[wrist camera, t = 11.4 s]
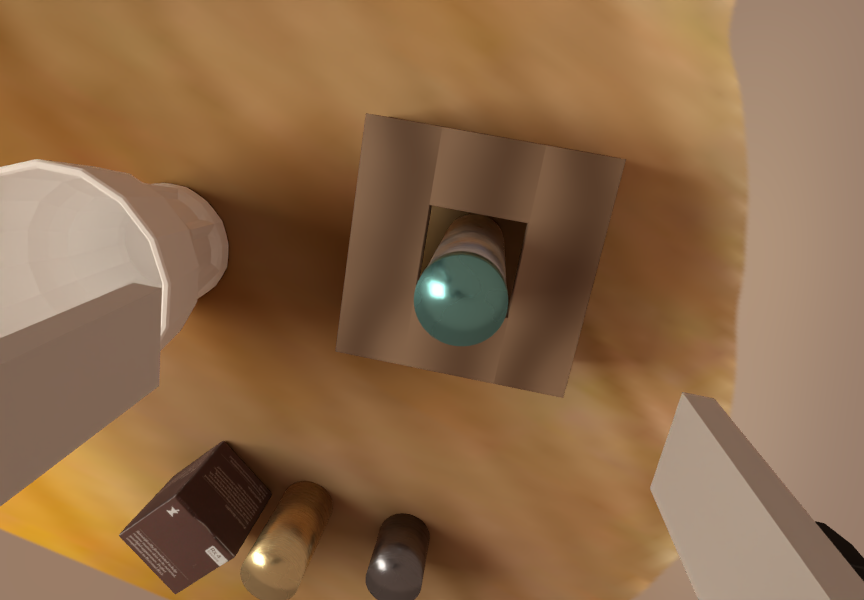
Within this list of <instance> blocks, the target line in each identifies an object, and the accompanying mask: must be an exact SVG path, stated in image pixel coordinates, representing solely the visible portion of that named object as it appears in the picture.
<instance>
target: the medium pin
mask: <svg viewBox="0 0 864 600" xmlns="http://www.w3.org/2000/svg"><path fill="white" fill-rule="evenodd" d="M332 509H333V504H332V499H331V497H330V495H329V494H328V492H327V491H326V490H325V489H324V488H323V487H321V486H320V485H318V484H316V483H313V482H309V481H301V482H297V483H294V484H292V485H291V486H290V487H289V488H288V489H287V490H286V492H285V494H284V495H283V497H282V499H281V500H280V502H279V504H278V505H277V507H276V509H275V510H274V512H273V514H272V515H271V517H270V519H269V520H268V522H267V524H266V525H265V527H264V529H263V530H262V532H261V534H260V535H259V537H258V539H257V540H256V542H255V544H254V546H253V547H252V549H251V551H250V552H249V554H248V556H247V557H246V559H245V561H244V562H243V564H242V566H241V571H240V575H241V580H242V582H243V584H244V586H245V587H246V589H247V590H248V591H249V592H250V593H251V594H252V595H254V596H255V597H257V598H259V599H261V600H288V599H290V598H291V597H292V596H293V595H294V594H295V593H296V591H297V589H298V587H299V585H300V582H301V580H302V578H303V576H304V573H305V571H306V569H307V567H308V564H309V562H310V560H311V558H312V555H313V553H314V551H315V549H316V546H317V544H318V542H319V540H320V537H321V535H322V533H323V531H324V528H325V526H326V524H327V522H328V519H329V517H330V515H331V512H332Z"/></svg>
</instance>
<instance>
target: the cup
mask: <svg viewBox="0 0 864 600" xmlns="http://www.w3.org/2000/svg"><path fill="white" fill-rule="evenodd" d="M228 247H229V244H228V240H227V235H226V232H225V228H224V225H223V222H222V220H221V219H220V217H219V216H218V214H217V213H216V212H215V210H214V209H213V208H212V207H211V205H210V204H209V203H208V202H207V201H206V200H205V199H203V198H202V197H201V196H199V195H198V194H197V193H195V192H194V191H192V190H190V189H189V188H187V187H184V186H180V185H175V184H169V183H159V184H147V183H142V182H141V181H139V180H138V179H137V178H135V177H134V176H132V175H131V174H128V173H123V172H118V171H113V170H108V169H103V168H98V167H93V166H86V165H78V164H71V163H63V162H55V161H48V160H40V159H35V160H31V161H26V162H21V163H17V164H12V165H8V166H3V167H0V338H2V337H4V336H7V335H9V334H11V333H14V332H16V331H18V330H21V329H23V328H26V327H28V326H30V325H33V324H35V323H38V322H40V321H42V320H45V319H47V318H50V317H52V316H54V315H57V314H59V313H61V312H64V311H66V310H69V309H71V308H73V307H76V306H78V305H81V304H83V303H85V302H88V301H90V300H92V299H95V298H97V297H100V296H102V295H104V294H107V293H109V292H112V291H114V290H116V289H119V288H121V287H123V286H126V285H128V284H131V283H138V284H143V285H148V286H153V287H158V288H162V303H161V338H160V351H161V350H162V349H163V348H164V347H165V346H166V345H167V344H168V343H169V342H170V341H171V340H172V339H173V338H174V337H175V336H176V335H177V334H178V333H179V332H180V331H181V329H182V327H183V326H184V324H185V322H186V320H187V319H188V317H189V315H190V313H191V312H192V310H193V308H194V307H195V305H196V303H197V299H198V298H200V297H201V296H203V295H204V294H206V293H207V292H209V291H210V290H211V289H212V288H213V287H215V286H216V285H217V283H218V282H219V280H220V279H221V277H222V275H223V274H224V272H225V270H226V268H227V263H228Z"/></svg>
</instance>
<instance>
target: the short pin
mask: <svg viewBox="0 0 864 600" xmlns="http://www.w3.org/2000/svg"><path fill="white" fill-rule="evenodd" d="M429 539H430V536H429V531H428V528H427V527H426V525H425V524H424V523H423V522H422V521H421V520H420V519H419V518H417V517H415V516H413V515H410V514H403V513H401V514H395V515H392V516H390V517H388V518H387V519H386V520H385V521H384V522H383V523H382V525H381V527H380V531H379V534H378V537H377V541H376V544H375V547H374V550H373V554H372V557H371V560H370V564H369V567H368V570H367V574H366V585H367V588H368V590H369V591H370V593H371V594H372V595H373V596H374V597H375V598H376V599H378V600H414V599H415V598H416V597H417V596H418V595H419V593H420V590H421V585H422V580H423V574H424V568H425V562H426V557H427V551H428V545H429Z"/></svg>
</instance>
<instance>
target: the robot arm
mask: <svg viewBox="0 0 864 600" xmlns="http://www.w3.org/2000/svg"><path fill="white" fill-rule="evenodd" d="M161 303H162V288H158V287H153V286H148V285H143V284H138V283H131V284H128V285H126V286H123V287H121V288H119V289H116V290H114V291H112V292H109V293H107V294H104V295H102V296H100V297H97V298H95V299H92V300H90V301H88V302H85V303H83V304H81V305H78V306H76V307H73V308H71V309H69V310H66V311H64V312H61V313H59V314H57V315H54V316H52V317H50V318H47V319H45V320H42V321H40V322H38V323H35V324H33V325H30V326H28V327H26V328H23V329H21V330H18V331H16V332H14V333H11V334H9V335H7V336H4V337H2V338H0V506H1V505H3V504H4V503H5V502H7V501H8V500H9V499H11V498H12V497H13V496H15V495H16V494H17V493H18V492H20V491H21V490H22V489H24V488H25V487H26V486H28V485H29V484H30V483H32V482H33V481H34V480H36V479H37V478H38V477H40V476H41V475H42V474H44V473H45V472H46V471H47V470H49V469H50V468H51V467H53V466H54V465H55V464H57V463H58V462H59V461H61V460H62V459H63V458H65V457H66V456H67V455H69V454H70V453H71V452H73V451H74V450H75V449H76V448H78V447H79V446H80V445H82V444H83V443H84V442H86V441H87V440H88V439H90V438H91V437H92V436H94V435H95V434H96V433H98V432H99V431H100V430H102V429H103V428H104V427H105V426H107V425H108V424H109V423H111V422H112V421H113V420H115V419H116V418H117V417H119V416H120V415H121V414H123V413H124V412H125V411H127V410H128V409H129V408H131V407H132V406H133V405H134V404H136V403H137V402H138V401H140V400H141V399H142V398H144V397H145V396H146V395H148V394H149V393H150V392H152V391H153V390H154V389H156V388H157V387H158V386H159V372H160V338H161ZM650 489H651V492H652V494H653V496H654V499H655V501H656V503H657V506H658V508H659V510H660V513H661V515H662V517H663V519H664V522H665V524H666V526H667V529H668V531H669V533H670V536H671V538H672V540H673V543H674V545H675V547H676V550H677V552H678V554H679V557H680V559H681V561H682V563H683V566H684V568H685V570H686V573H687V575H688V577H689V580H690V582H691V584H692V587H693V589H694V591H695V593H696V596H697V598H698V600H864V558H863V557H862V556H861V555H860V553H859V552H858V551H857V550H856V549H855V548H854V546H853V545H852V544H850V543H849V542H848V541H846V540H845V539H844V538H843V537H841V536H840V535H839V534H837V533H836V532H835V531H834V530H832V529H831V528H830V527H828V526H827V525H826V524H824V523H820V522H816V521H814V520H813V519H812V518H811V516H810V515H809V514H808V513H807V511H806V510H805V509H804V508H803V507H802V505H801V504H800V503H799V502H798V501H797V499H796V498H795V497H794V496H793V494H792V493H791V492H790V491H789V489H788V488H787V487H786V486H785V485H784V483H783V482H782V481H781V480H780V478H779V477H778V476H777V475H776V473H775V472H774V471H773V470H772V469H771V467H770V466H769V465H768V464H767V462H766V461H765V460H764V459H763V458H762V456H761V455H760V454H759V453H758V451H757V450H756V449H755V448H754V447H753V445H752V444H751V443H750V442H749V441H748V439H747V438H746V437H745V436H744V434H743V433H742V432H741V431H740V429H739V428H738V427H737V426H736V425H735V423H734V422H733V421H732V420H731V418H730V417H729V416H728V415H727V413H726V412H725V411H724V410H723V409H722V407H721V406H720V405H719V404H718V402H717V401H716V400H715V399H714V398H709V397H704V396H699V395H694V394H689V393H684V392H682V395H681V398H680V401H679V404H678V407H677V410H676V413H675V416H674V419H673V422H672V425H671V428H670V431H669V434H668V437H667V440H666V443H665V446H664V448H663V451H662V454H661V457H660V460H659V463H658V466H657V469H656V472H655V475H654V478H653V481H652V484H651V487H650Z"/></svg>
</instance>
